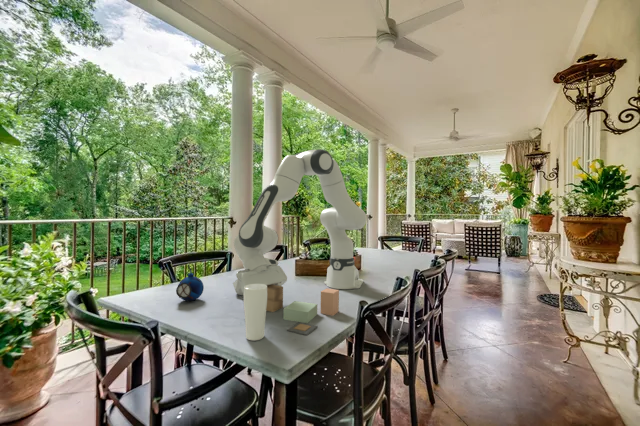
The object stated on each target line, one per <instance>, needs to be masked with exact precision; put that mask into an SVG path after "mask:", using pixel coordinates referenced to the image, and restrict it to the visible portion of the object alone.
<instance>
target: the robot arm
mask: <svg viewBox="0 0 640 426" xmlns="http://www.w3.org/2000/svg"><path fill="white" fill-rule="evenodd" d="M304 176H317V177H318V179H319V184H320V187H321V190H322V193H323V198H324V200H325V201H326V202H327V203H328V204H330V205H331V206H332V207H329V208H328V207H327V208H324V209H323V210H322V211H321V213H320V216H319V220H320V223H321V225H322V226H323V227H324V228H325V230H326V232H327V234H328V237H329V242H330V257H329V266H328V267H327V269H326V272H327V273H326V280H324V281H323V284H324V285H326V286H327V287H328V288H330V289H335V290H351V289H360V288H361V287H362V285H363V284H364V279H362V278H360V271H359V270H358V268H357V267H356V266H355V262H356V256H354V242H353V240H352V239H351V238H350V237H349V235H348V234H347V233H346V230H348V231H357V230H361V229H363V228H364V227H365V225H366V224H367V214H366V212H365V211H364V210H363V209H362V208H361V207H360V206H358V205H356V203H355V202H354V201H353V199H352V198H351V197H350V195H349V193H348V190H347V186H346V184H345V180H344V177H343V174H342V171H341V169H340V167H339V164H338V162H337V161H336V160H335V159H333V157H332V155H331V154H330V152H329V151H328V150H325V149H321V148H319V149H309V150H306V151H300V152H297V153H296V154H287V155H285V157H284V158H283V160H282V161H280V164H279V166H278V168H277V170H276V171H275V174H274V176H273V179H272V181H271V182H270V183H269V185H267V186H266V187H265V188H264V189H263V190H262V192H261V194H260V195H259V197H258V199H257V201H256V202H255V205H254V206H253V208H252V210H251V212H250V213H249V215H248V216H247V219H246V220H245V221H244V222H243V223H242V224H241V226H240V228H239V230H238V234H237V235H236V236H235V238H234V239H233V247H234V251H235V253H236V255H237V257H238V258H239V260H240V261H241V262H242V266H243V268H244V269H242V270H238V271H237V272H236V275H235V276H236V278H237V279H238V280H239V284H240V287H241V290H242V292H243V293H244V287H245V286H246V285H249V284H265V285H267V286H268V285H276V286H282V287H283V285H285V283H286V282H287V281H288V276H287V273H286V272H285V271H284V270H283V268H282V267H281V265H278V264H279V261H278V260H277V259H272V258H268V257H265V256H264V255H266V254H268V253H269V252H271V251H272V250H274V249H275V248H276V247H277V245H278V243H279V235H278V233H277V231H276V230H275V229H272V228H271V227H268V226H266V225H264V224H265V221H266V219H267V217H268V216H269V213H270V211H271V210H272V208H273V206H274V205H275V204H277V203H279V202H287V201H290V200H291V199H293V198H294V197H295V195H296V194H297V192H298V191H299V187H300V185H301V181H302V179H303V177H304ZM237 279H236V280H237Z"/></svg>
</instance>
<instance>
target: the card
mask: <svg viewBox="0 0 640 426" xmlns="http://www.w3.org/2000/svg"><path fill="white" fill-rule="evenodd" d="M317 328H318V325H315V324H309V323H304V322H296V323H295V324H293V325H292V326H290V327H289V328H287V329H286V331H287V332H290V333H295V334H299V335H302V336H308V335H309V334H311V333H312V332H313V331H315V330H316V329H317Z"/></svg>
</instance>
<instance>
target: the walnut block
mask: <svg viewBox="0 0 640 426" xmlns="http://www.w3.org/2000/svg"><path fill="white" fill-rule="evenodd" d="M282 308H283V309H284V286H283V285H282V286H276V285H268V286H267V308H266V312H271V313H274V312H276V311H278V310H281V309H282Z"/></svg>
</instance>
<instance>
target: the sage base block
mask: <svg viewBox="0 0 640 426" xmlns="http://www.w3.org/2000/svg"><path fill="white" fill-rule="evenodd" d="M282 315H283V320H285V321H290V322H291V321H292V322H296V323H298V322H301V323H306V324H309V323H310V322H311V321H312V320H313V319H314V318H315V317H316V316H317V315H318V304H317V303H314V302H313V303H312V302H305V301H296V300H294V301H293V302H291V303H290V304H288V305H287V306H285V307H283V314H282Z"/></svg>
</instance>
